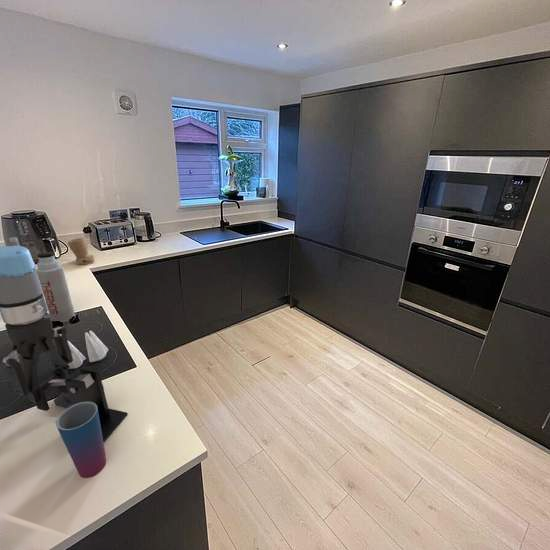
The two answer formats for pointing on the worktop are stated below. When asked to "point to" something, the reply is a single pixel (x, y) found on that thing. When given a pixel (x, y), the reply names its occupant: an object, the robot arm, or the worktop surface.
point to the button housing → (63, 400)
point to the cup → (83, 437)
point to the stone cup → (81, 251)
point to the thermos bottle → (54, 287)
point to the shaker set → (94, 351)
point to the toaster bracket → (95, 400)
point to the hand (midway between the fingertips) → (54, 399)
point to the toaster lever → (57, 381)
